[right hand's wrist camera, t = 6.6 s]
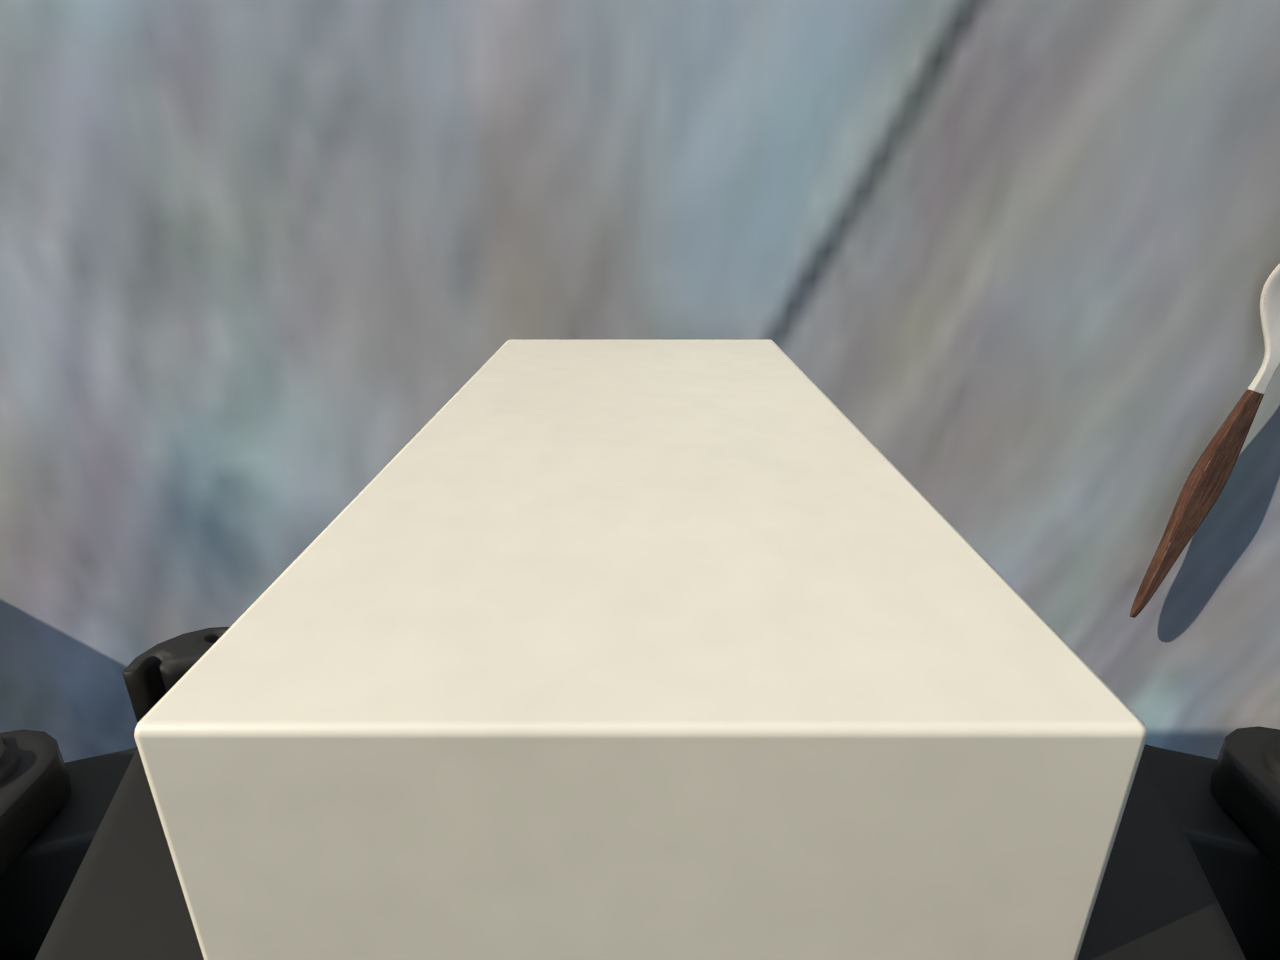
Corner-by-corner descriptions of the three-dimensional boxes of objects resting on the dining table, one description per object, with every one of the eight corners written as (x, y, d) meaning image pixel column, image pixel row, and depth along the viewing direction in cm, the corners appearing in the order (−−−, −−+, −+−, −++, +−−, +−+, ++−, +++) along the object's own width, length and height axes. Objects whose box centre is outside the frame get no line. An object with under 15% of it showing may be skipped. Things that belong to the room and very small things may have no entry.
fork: (1092, 603, 28) (1125, 631, 26) (1320, 170, 22) (1383, 166, 21) (1153, 616, 28) (1190, 645, 26) (1395, 190, 23) (1462, 189, 21)
